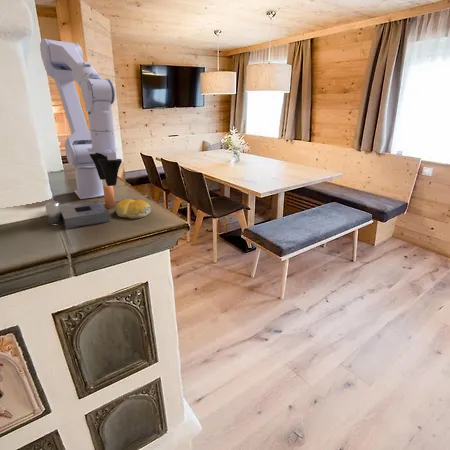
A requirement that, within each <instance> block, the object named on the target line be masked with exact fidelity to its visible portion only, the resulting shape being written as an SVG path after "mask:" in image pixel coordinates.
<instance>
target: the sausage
mask: <svg viewBox="0 0 450 450" xmlns="http://www.w3.org/2000/svg"><path fill="white" fill-rule="evenodd" d="M103 190H104V196H103V198H104V199H103V200H104V207H105V208H106V209H113V208H116V200H115V192H114V186H107V184H105V185H104V184H103Z"/></svg>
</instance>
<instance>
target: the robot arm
mask: <svg viewBox="0 0 450 450" xmlns="http://www.w3.org/2000/svg"><path fill="white" fill-rule="evenodd" d="M39 48H40V49H39V50H40V55H41V60H42V63H43V66H44V70H45V71H46V75H47V76H49V77H50V78H52V79H53V80H54V83H55V84H56V88H57V91H58V93H59V97H60V100H61V104H62V107H63V110H64V113H65V116H66V119H67V122H68V127H69V129H70V132H71V134H70V135H69V136H68V137H67V138H66V139H65V142H64V148H65V155H66V159H67V162H68V164H69V165H70V166H71V167H73V168H74V171H75V180H76V186H77V187H76V188H77V189H74V193H75V194H76V195H77V197H78V198H79V199H80V200H85V199H93V198H99V197H104V190H103V186H104V184H103V180H104V181H105V183H106V185H107V186H113V187H114V186H117V183H118V181H117V180H118V175H119V174H118V173H119V169H120V166H121V164H122V161H123V159H121V158H117V152H118V151H117V150H118V149H117V146H116V140H115V139H116V137H115V128H114V118H113V117H114V115H113V109H112V107H113V106H112V105H113V104H114V102H115V99H116V94H115V92H116V91H115V87H114V84H113V82H112V81H111V79H109V78H102V77H101V75H100V74H99V73H98V72H97V70H96V69H95V67H94V66H92V64H91V62H89V61H84V53H83V49H82V47H81V45H80V44H79V43H78V42H70V41H69V42H68V41H59V40H55V39H47V38H45V37H44V38H41V40H40V43H39ZM75 83H77V85H78V86H79V88H80V92H81V97H82V99H83V103H84V109H85V111H86V112H87V115H88V116H87V117H88V123H89V127H88V123H87V121H86V118H85V115H84V114H85V113H84V111H83V110H84V109H83V108H82V104H81V102H80V96H79V95H78V91H77V88H76V85H75Z"/></svg>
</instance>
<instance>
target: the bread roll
mask: <svg viewBox="0 0 450 450" xmlns="http://www.w3.org/2000/svg"><path fill="white" fill-rule="evenodd" d="M151 212H152V207H151V205H150V203H148V202H147V201H145V200H144V199H136V200H135V199H133V198H126V199H122V200H121V201H119V202H117V204H116V205H115V213H116V216H118V217H120V218H124V219H125V218H128V219H134V220H135V219H142V218H145V217H147V216H149V215H150V214H151ZM148 214H149V215H148Z"/></svg>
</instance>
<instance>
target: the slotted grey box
mask: <svg viewBox="0 0 450 450" xmlns="http://www.w3.org/2000/svg"><path fill="white" fill-rule="evenodd" d="M44 207H45V212H46V216H47V223H48V225H49V224H59V225H61V224H63V226H64V228H65V229H66V230H67V229H74V228H78V227H83V226H84V227H85V226H90V225H96V224H102V223H108V222H111V219H110V211H109V210H108V208H106V207H105V205H104V204H103V203H102V202H101V200H96V201H88V202H87V201H86V202H79V203H72V204H66V205H65V204H64V205H61V204H60V202H59V201H57V200H55V201H53V200H52V201H51V200H50V201H47V202H45V203H44Z"/></svg>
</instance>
